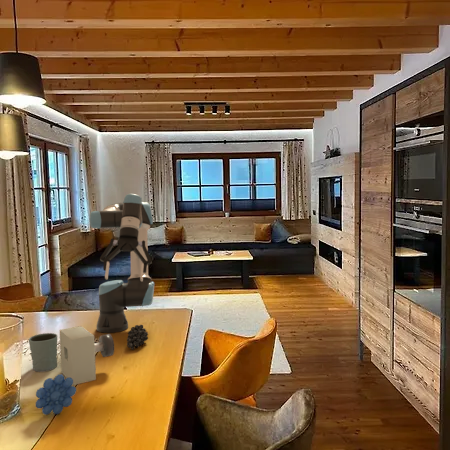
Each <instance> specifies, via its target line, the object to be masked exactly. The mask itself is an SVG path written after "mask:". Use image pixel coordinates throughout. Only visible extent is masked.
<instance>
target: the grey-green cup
mask: <svg viewBox="0 0 450 450" xmlns="http://www.w3.org/2000/svg"><path fill="white" fill-rule="evenodd" d="M28 343H29V350H30V352H31V353H30V356H31V360H32V362H31V363H32V369H33V371H34V372H49V371H52V370H54V369H55V368H57V366H58V358H57V356H58V334H56V333H55V332H54V333H53V332H47V333H45V332H44V333H40V334H35V335H32V336H30V337H29V338H28Z"/></svg>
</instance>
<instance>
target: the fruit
mask: <svg viewBox="0 0 450 450" xmlns="http://www.w3.org/2000/svg"><path fill="white" fill-rule="evenodd" d="M127 334H128V335H127V338H126V346H127V347H128V348H129V349H131V350H133V351H134V350H135V349H136V348H139V347H140V346H142V345H144V344H145V342H146V341H148V340H149V337H148V336H149V333H148V332H147V329H146V328H144V325H143V324H139V325H138V324H136V325H134V326H132V327H130V330H129V331H128V332H127Z"/></svg>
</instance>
